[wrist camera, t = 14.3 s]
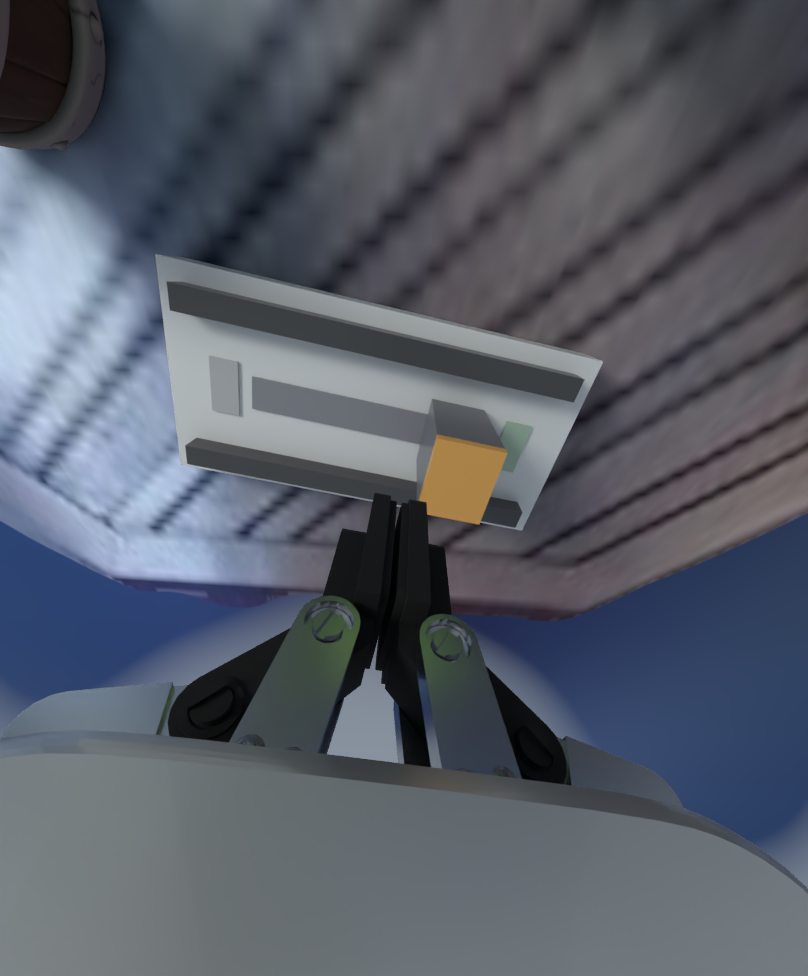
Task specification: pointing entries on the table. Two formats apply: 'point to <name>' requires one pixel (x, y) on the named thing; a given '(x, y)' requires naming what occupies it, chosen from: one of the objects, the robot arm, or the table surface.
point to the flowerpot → (49, 71)
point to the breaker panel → (351, 387)
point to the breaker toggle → (458, 462)
